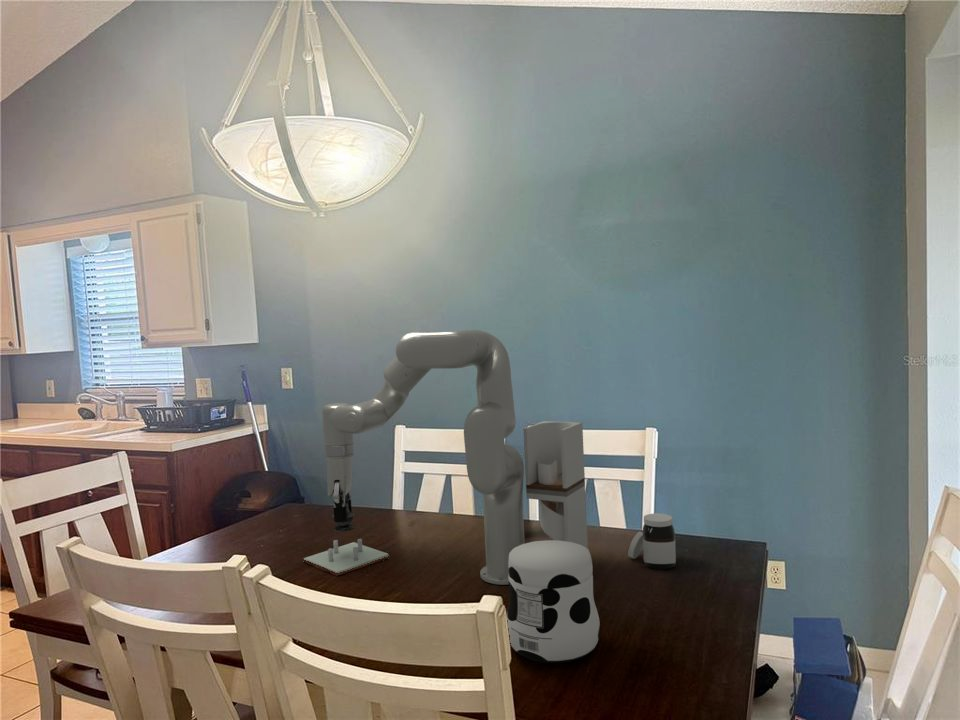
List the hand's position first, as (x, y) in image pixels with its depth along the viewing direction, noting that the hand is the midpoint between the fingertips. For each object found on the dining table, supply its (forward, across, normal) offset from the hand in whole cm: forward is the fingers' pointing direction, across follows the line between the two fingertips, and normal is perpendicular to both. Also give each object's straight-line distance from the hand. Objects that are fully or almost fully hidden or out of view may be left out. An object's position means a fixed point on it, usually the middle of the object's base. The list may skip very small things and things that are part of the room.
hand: (343, 517), depth 177 cm
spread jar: (+11, +13, +78) cm, 80 cm away
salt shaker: (+3, 0, 0) cm, 3 cm away
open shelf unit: (+12, +11, +55) cm, 58 cm away
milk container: (+12, +53, +49) cm, 73 cm away
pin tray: (+12, 0, 0) cm, 12 cm away
